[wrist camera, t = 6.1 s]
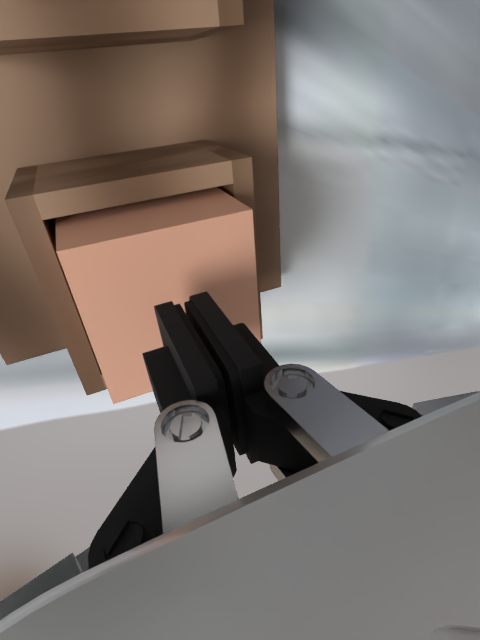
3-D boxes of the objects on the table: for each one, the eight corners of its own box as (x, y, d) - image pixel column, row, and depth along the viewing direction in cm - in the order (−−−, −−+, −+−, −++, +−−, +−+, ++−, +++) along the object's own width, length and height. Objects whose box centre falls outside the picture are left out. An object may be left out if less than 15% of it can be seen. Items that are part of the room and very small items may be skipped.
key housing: (247, -288, 13) (386, -551, 8) (270, 277, 25) (330, 330, 20) (-394, -409, 9) (-1153, -1250, 3) (9, 349, 21) (-6, 443, 15)
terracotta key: (203, 179, 16) (252, 209, 12) (219, 299, 20) (261, 354, 16) (55, 206, 14) (56, 252, 11) (99, 333, 18) (113, 404, 14)
